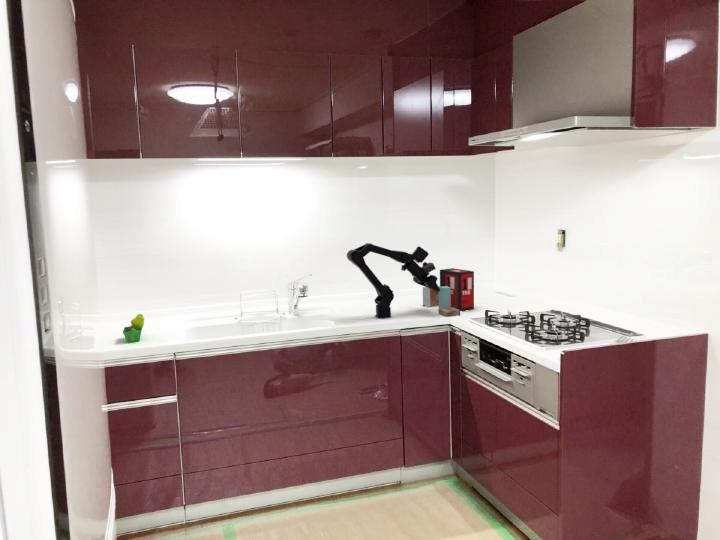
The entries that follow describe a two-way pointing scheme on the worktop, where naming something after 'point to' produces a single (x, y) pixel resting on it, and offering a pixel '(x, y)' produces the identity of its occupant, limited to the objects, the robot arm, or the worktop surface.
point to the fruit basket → (134, 329)
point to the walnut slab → (449, 312)
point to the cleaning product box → (459, 287)
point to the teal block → (444, 297)
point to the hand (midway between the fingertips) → (435, 289)
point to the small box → (430, 297)
